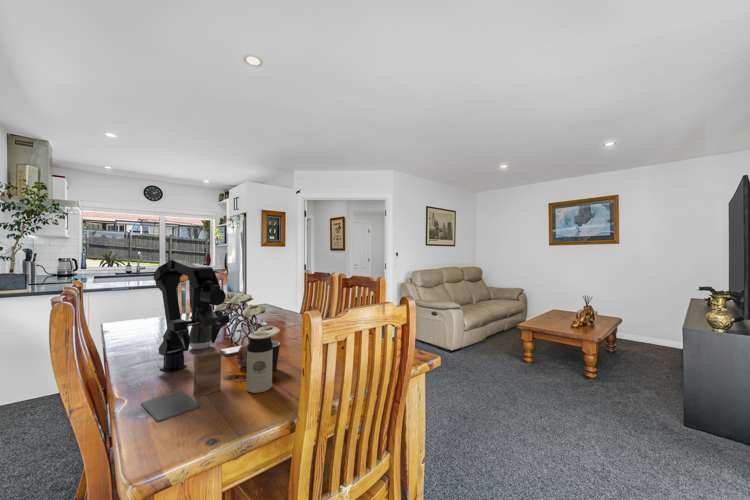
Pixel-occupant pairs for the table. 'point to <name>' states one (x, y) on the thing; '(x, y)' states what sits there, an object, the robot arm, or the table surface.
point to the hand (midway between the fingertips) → (199, 345)
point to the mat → (170, 405)
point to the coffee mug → (275, 355)
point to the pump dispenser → (200, 337)
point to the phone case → (230, 351)
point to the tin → (242, 355)
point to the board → (207, 373)
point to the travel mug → (259, 362)
